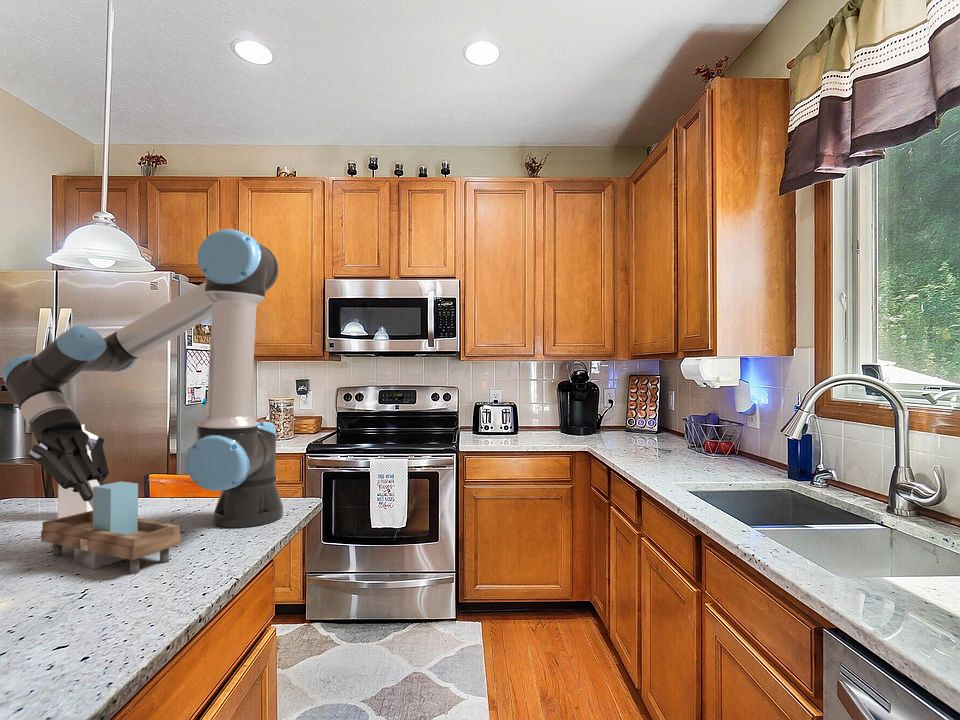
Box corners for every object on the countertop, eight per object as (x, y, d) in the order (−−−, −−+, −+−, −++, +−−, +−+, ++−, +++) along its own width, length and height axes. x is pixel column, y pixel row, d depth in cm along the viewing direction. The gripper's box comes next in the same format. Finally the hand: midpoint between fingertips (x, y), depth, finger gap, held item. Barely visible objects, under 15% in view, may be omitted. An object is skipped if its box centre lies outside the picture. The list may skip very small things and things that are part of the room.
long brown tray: (40, 557, 100) (40, 522, 100) (92, 542, 108) (92, 510, 108) (131, 578, 90) (132, 539, 90) (180, 559, 98) (181, 524, 98)
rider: (92, 535, 97) (93, 486, 97) (120, 528, 101) (120, 481, 101) (110, 539, 95) (110, 489, 95) (137, 531, 99) (138, 483, 99)
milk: (57, 520, 124) (57, 427, 124) (69, 513, 130) (69, 424, 130) (87, 518, 126) (87, 426, 126) (98, 511, 131) (98, 423, 132)
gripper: (78, 428, 113) (129, 514, 107) (5, 435, 101) (56, 533, 95) (94, 404, 111) (147, 490, 105) (21, 409, 99) (75, 506, 93)
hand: (104, 510), depth 100 cm, fingers closed
